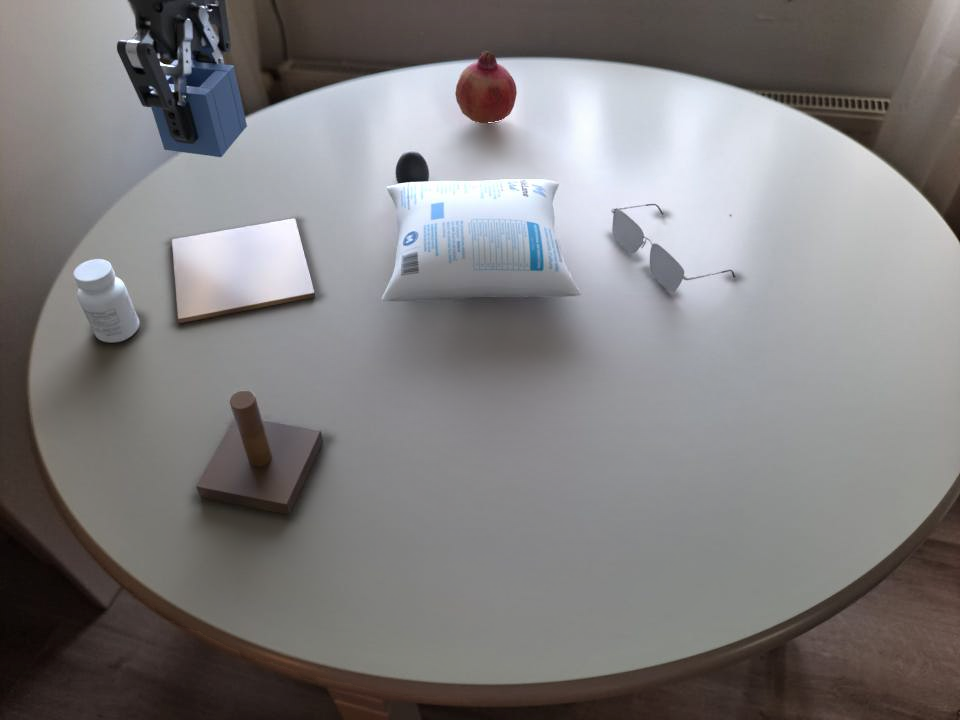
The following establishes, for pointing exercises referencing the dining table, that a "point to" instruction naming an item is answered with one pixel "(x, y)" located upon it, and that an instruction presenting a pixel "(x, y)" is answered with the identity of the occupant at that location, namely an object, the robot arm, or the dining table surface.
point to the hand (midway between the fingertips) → (202, 122)
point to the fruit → (486, 90)
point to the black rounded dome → (411, 168)
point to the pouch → (477, 241)
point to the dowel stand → (259, 460)
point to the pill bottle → (105, 301)
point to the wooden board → (239, 270)
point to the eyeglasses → (660, 259)
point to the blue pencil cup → (208, 110)
